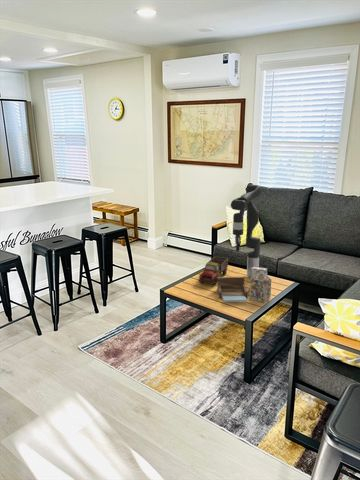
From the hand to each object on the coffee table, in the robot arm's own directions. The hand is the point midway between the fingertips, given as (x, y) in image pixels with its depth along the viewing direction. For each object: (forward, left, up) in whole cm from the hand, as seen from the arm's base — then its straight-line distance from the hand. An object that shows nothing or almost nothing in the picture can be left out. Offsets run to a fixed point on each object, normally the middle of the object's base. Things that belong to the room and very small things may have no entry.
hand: (237, 251), depth 269 cm
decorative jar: (+13, +15, -31) cm, 37 cm away
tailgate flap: (+14, -4, -29) cm, 32 cm away
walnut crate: (+5, -4, -31) cm, 32 cm away
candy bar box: (-4, +17, -31) cm, 36 cm away
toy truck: (-25, -14, -31) cm, 43 cm away
